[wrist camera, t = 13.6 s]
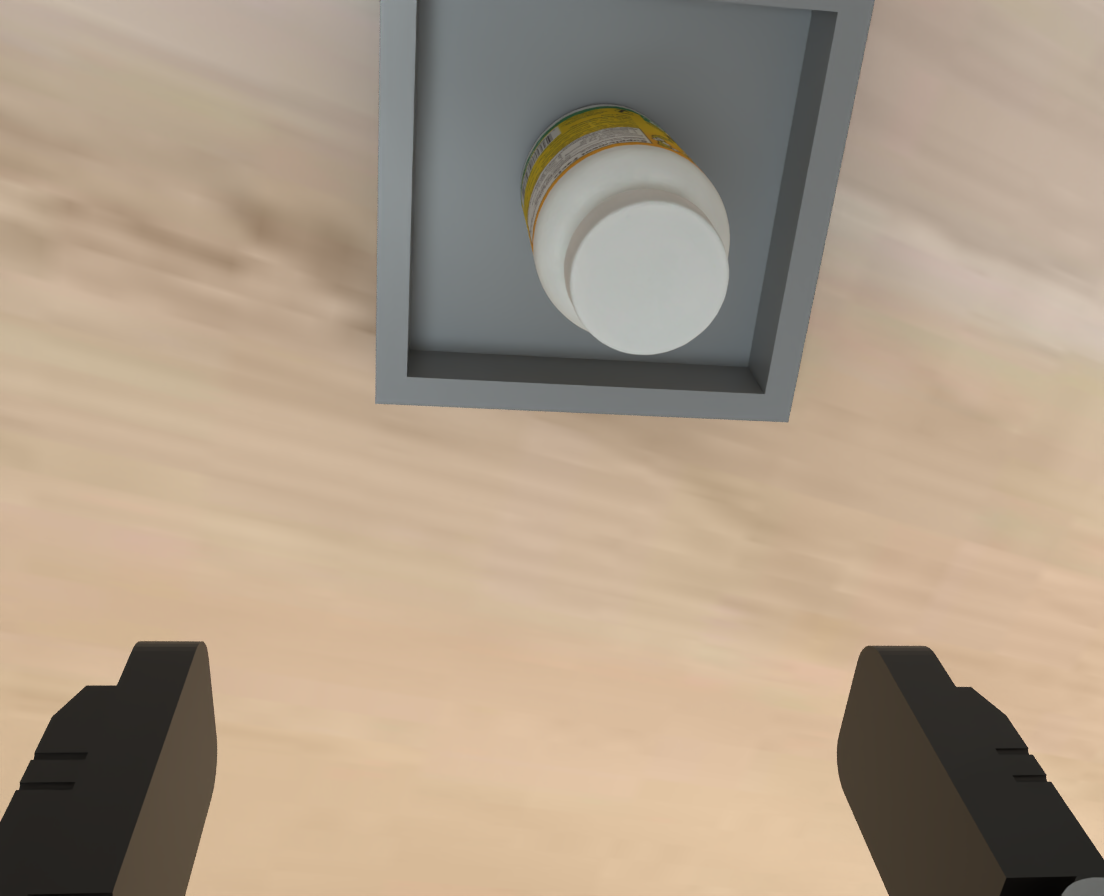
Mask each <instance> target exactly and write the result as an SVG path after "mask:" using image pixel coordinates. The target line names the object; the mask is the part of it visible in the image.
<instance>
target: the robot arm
mask: <svg viewBox="0 0 1104 896" xmlns="http://www.w3.org/2000/svg"><path fill="white" fill-rule="evenodd" d="M216 765H217V736H216V726H215V717H214V707H213V697H212V687H211V677H210V667H209V657H208V651H207V647H206V645H205V643H204V642H189V641H140V642H138V643H136V645H135V646H134V648H133V650H132V652H131V654H130V656H129V659H128V661H127V663H126V666H125V668H124V670H123V673H122V675H121V677H120V680H119V682H118V684H117V686H86V687H84V688H83V689H82V690H81V691H80V692H79V693H78V694H77V695H76V696H75V697H73V698H72V699H71V700H70V701H69V702H68V703H67V704H66V705H65V706H64V707H62V708H61V709H60V710H59V711H58V712H57V713H56V714H55V715H54V716H53V717H52V718H51V720H50V722H49V724H48V726H47V728H46V730H45V732H44V734H43V737H42V739H41V741H40V743H39V745H38V747H37V749H36V751H35V756H34V760H31V761H30V763H29V765H28V767H27V769H26V771H25V773H24V775H23V777H22V779H21V781H20V788H19V790H16V791H15V793H14V795H13V797H12V799H11V801H10V803H9V805H8V808H7V810H6V812H5V814H4V816H3V818H2V820H1V822H0V896H185V894H186V890H187V886H188V882H189V879H190V875H191V871H192V868H193V864H194V860H195V857H196V853H197V849H198V846H199V842H200V838H201V834H202V831H203V827H204V823H205V820H206V816H207V812H208V809H209V805H210V801H211V798H212V793H213V789H214V783H215V776H216ZM837 765H838V773H839V778H840V782H841V786H842V789H843V791H844V794H845V796H846V798H847V801H848V803H849V805H850V807H851V810H852V812H853V814H854V817H855V819H856V821H857V823H858V826H859V828H860V830H861V833H862V835H863V837H864V839H865V842H866V844H867V846H868V849H869V851H870V853H871V855H872V858H873V860H874V862H875V865H876V867H877V869H878V871H879V874H880V876H881V878H882V881H883V883H884V885H885V887H886V890H887V892H888V894H889V896H1104V859H1103V858H1102V856H1101V855H1100V853H1099V852H1098V850H1097V849H1096V847H1095V846H1094V844H1093V843H1092V842H1091V840H1090V839H1089V837H1088V836H1087V834H1086V833H1085V831H1084V830H1083V828H1082V827H1081V825H1080V824H1079V822H1078V821H1077V819H1076V818H1075V816H1074V815H1073V813H1072V812H1071V811H1070V809H1069V808H1068V806H1067V805H1066V803H1065V802H1064V800H1063V799H1062V797H1061V796H1060V794H1059V793H1058V791H1057V790H1056V788H1055V787H1054V785H1053V784H1052V782H1047V780H1046V774H1045V772H1044V771H1043V769H1042V768H1041V766H1040V765H1039V763H1038V762H1037V760H1036V759H1035V757H1034V756H1033V755H1029V753H1028V747H1027V746H1026V744H1025V743H1024V741H1023V740H1022V738H1021V737H1020V735H1019V734H1018V732H1017V731H1016V729H1015V728H1014V726H1013V725H1012V723H1011V722H1010V720H1009V719H1008V718H1007V716H1006V715H1005V714H1004V713H1002V712H1001V711H1000V710H999V709H997V708H996V707H995V706H994V705H993V704H991V703H990V702H989V701H988V700H986V699H985V698H984V697H983V696H981V695H980V694H979V693H978V692H976V691H975V690H974V689H973V688H972V687H956V686H955V685H954V683H953V682H952V680H951V678H950V677H949V675H948V674H947V672H946V671H945V669H944V668H943V666H942V664H941V663H940V661H939V660H938V658H937V657H936V655H935V654H934V652H933V651H932V650H931V649H930V648H928V647H926V646H867V647H865V648H864V649H863V650H862V652H861V653H860V656H859V658H858V662H857V666H856V670H855V674H854V678H853V681H852V685H851V689H850V693H849V697H848V701H847V705H846V709H845V713H844V717H843V721H842V725H841V729H840V733H839V738H838V744H837Z"/></svg>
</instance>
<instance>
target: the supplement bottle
mask: <svg viewBox="0 0 1104 896" xmlns="http://www.w3.org/2000/svg"><path fill="white" fill-rule="evenodd" d="M520 191H521V206H522V210H523V213H524V217H525V222H526V226H527V230H528V234H529V239H530V243H531V248H532V253H533V257H534V261H535V266H536V270H537V273H538V276H539V279H540V282H541V284H542V287H543V289H544V290H545V292H546V294H547V296H548V297H549V299H550V300H551V302H552V303H553V304H554V305H555V307H556V308H557V309H558V310H559V311H560V312H561V313H562V314H563V315H564V316H565V317H566V318H567V319H569V320H570V321H571V322H573V323H574V324H575V325H577V326H579V327H580V328H582V329H584V330H586V331H588V332H590V333H591V334H592V335H593V336H594V337H595V338H596V339H598V340H599V341H600V342H601V343H603V344H605V345H607V346H609V347H610V348H613V349H615V350H618V351H621V352H624V353H629V354H636V355H653V354H659V353H664V352H668V351H671V350H674V349H676V348H678V347H681V346H683V345H685V344H687V343H688V342H690V341H691V340H692V339H694V338H695V337H697V336H698V335H699V334H700V333H702V332H703V331H704V330H705V329H706V328H707V327H708V326H709V325H710V323H711V322H712V321H713V319H714V318H715V317H716V315H717V314H718V312H719V310H720V308H721V306H722V303H723V301H724V299H725V296H726V292H727V287H728V281H729V264H728V254H729V247H730V232H729V223H728V218H727V214H726V210H725V207H724V205H723V202H722V200H721V198H720V196H719V194H718V192H717V190H716V189H715V187H714V186H713V184H712V183H711V181H710V180H709V179H708V178H707V176H706V175H705V174H704V173H703V172H702V171H701V169H700V168H699V167H698V166H697V165H696V164H695V163H694V162H693V160H692V159H691V158H690V157H689V156H688V155H687V154H686V153H685V152H684V151H683V150H682V149H681V148H680V147H679V146H678V145H677V144H676V142H675V141H674V140H673V139H672V138H671V137H670V136H669V135H668V134H667V133H666V132H665V131H664V130H663V129H662V128H661V127H660V126H658V125H657V124H656V123H654V122H653V121H651V120H650V119H649V118H647V117H646V116H644V115H643V114H641V113H639V112H637V111H635V110H633V109H630V108H627V107H624V106H619V105H612V104H598V105H591V106H587V107H583V108H580V109H577V110H574V111H572V112H570V113H568V114H566V115H564V116H562V117H561V118H559V119H558V120H557V121H555V122H554V123H553V124H551V125H550V126H549V127H548V128H547V129H546V130H545V131H544V132H543V133H542V134H541V135H540V137H539V138H538V139H537V141H536V142H535V144H534V145H533V147H532V149H531V151H530V152H529V155H528V157H527V159H526V162H525V165H524V169H523V173H522V177H521V189H520Z"/></svg>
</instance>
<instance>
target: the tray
mask: <svg viewBox="0 0 1104 896" xmlns="http://www.w3.org/2000/svg"><path fill="white" fill-rule="evenodd" d="M874 1H875V0H380V60H379V145H378V229H377V313H376V397H375V404H396V405H418V406H440V407H462V408H484V409H506V410H528V411H551V412H573V413H595V414H617V415H639V416H661V417H683V418H706V419H728V420H750V421H772V422H788V421H789V416H790V411H791V406H792V401H793V396H794V391H795V386H796V382H797V377H798V372H799V367H800V362H801V357H802V352H803V347H804V343H805V338H806V333H807V328H808V323H809V318H810V313H811V308H812V304H813V299H814V294H815V289H816V284H817V279H818V274H819V269H820V265H821V260H822V255H823V250H824V245H825V240H826V235H827V230H828V226H829V221H830V216H831V211H832V206H833V201H834V196H835V191H836V187H837V182H838V177H839V172H840V167H841V162H842V157H843V152H844V148H845V143H846V138H847V133H848V128H849V123H850V118H851V113H852V109H853V104H854V99H855V94H856V89H857V84H858V79H859V74H860V69H861V65H862V60H863V55H864V50H865V45H866V40H867V35H868V30H869V26H870V21H871V16H872V11H873V6H874ZM598 104H612V105H619V106H624V107H627V108H630V109H633V110H635V111H637V112H639V113H641V114H643V115H644V116H646V117H647V118H649V119H650V120H651V121H653V122H654V123H656V124H657V125H658V126H660V127H661V128H662V129H663V130H664V131H665V132H666V133H667V134H668V135H669V136H670V137H671V138H672V139H673V140H674V141H675V142H676V144H677V145H678V146H679V147H680V148H681V149H682V150H683V151H684V152H685V153H686V154H687V155H688V156H689V157H690V158H691V159H692V160H693V162H694V163H695V164H696V165H697V166H698V167H699V168H700V169H701V171H702V172H703V173H704V174H705V175H706V176H707V178H708V179H709V180H710V181H711V183H712V184H713V186H714V187H715V189H716V190H717V192H718V194H719V196H720V198H721V200H722V202H723V205H724V207H725V210H726V214H727V218H728V223H729V232H730V247H729V254H728V264H729V281H728V287H727V292H726V296H725V299H724V301H723V303H722V306H721V308H720V310H719V312H718V314H717V315H716V317H715V318H714V319H713V321H712V322H711V323H710V325H709V326H708V327H707V328H706V329H705V330H704V331H703V332H702V333H700V334H699V335H698V336H697V337H695V338H694V339H692V340H691V341H690V342H688V343H687V344H685V345H683V346H681V347H678V348H676V349H674V350H671V351H668V352H664V353H659V354H653V355H636V354H629V353H624V352H621V351H618V350H615V349H613V348H610V347H609V346H607V345H605V344H603V343H601V342H600V341H599V340H598V339H596V338H595V337H594V336H593V335H592V334H591V333H590V332H588V331H586V330H584V329H582V328H580V327H579V326H577V325H575V324H574V323H573V322H571V321H570V320H569V319H567V318H566V317H565V316H564V315H563V314H562V313H561V312H560V311H559V310H558V309H557V308H556V307H555V305H554V304H553V303H552V302H551V300H550V299H549V297H548V296H547V294H546V292H545V290H544V289H543V287H542V284H541V282H540V279H539V276H538V273H537V270H536V266H535V261H534V257H533V253H532V248H531V243H530V239H529V234H528V230H527V226H526V222H525V217H524V213H523V210H522V206H521V191H520V189H521V177H522V173H523V169H524V165H525V162H526V159H527V157H528V155H529V152H530V151H531V149H532V147H533V145H534V144H535V142H536V141H537V139H538V138H539V137H540V135H541V134H542V133H543V132H544V131H545V130H546V129H547V128H548V127H549V126H550V125H551V124H553V123H554V122H555V121H557V120H558V119H559V118H561V117H562V116H564V115H566V114H568V113H570V112H572V111H574V110H577V109H580V108H583V107H587V106H591V105H598Z"/></svg>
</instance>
